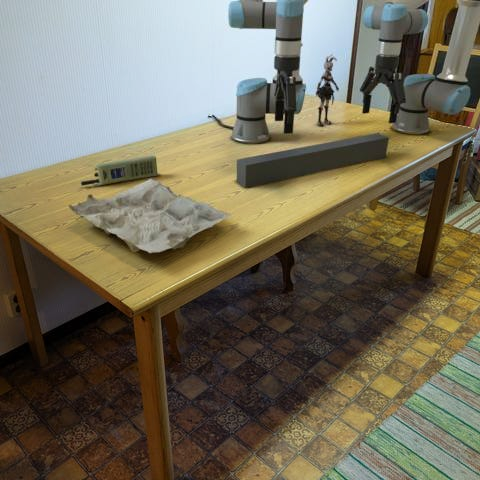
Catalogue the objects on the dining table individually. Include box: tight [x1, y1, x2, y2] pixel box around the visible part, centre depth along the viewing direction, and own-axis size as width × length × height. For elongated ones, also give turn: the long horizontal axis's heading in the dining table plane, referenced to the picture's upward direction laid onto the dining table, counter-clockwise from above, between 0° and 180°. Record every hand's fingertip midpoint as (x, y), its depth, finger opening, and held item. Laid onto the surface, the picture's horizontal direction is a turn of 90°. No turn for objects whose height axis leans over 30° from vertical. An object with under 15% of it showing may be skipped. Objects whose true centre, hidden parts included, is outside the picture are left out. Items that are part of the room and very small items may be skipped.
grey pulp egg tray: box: [68, 178, 232, 254], centre depth 138 cm, size 38×6×30 cm
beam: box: [236, 132, 390, 188], centre depth 176 cm, size 61×6×8 cm, turn 119°
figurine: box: [315, 53, 340, 127], centre depth 218 cm, size 15×6×30 cm, turn 132°
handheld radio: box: [80, 155, 159, 187], centre depth 164 cm, size 7×3×25 cm
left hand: (283, 126), depth 158 cm, fingers open, 13 cm apart
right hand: (378, 117), depth 180 cm, fingers open, 13 cm apart
